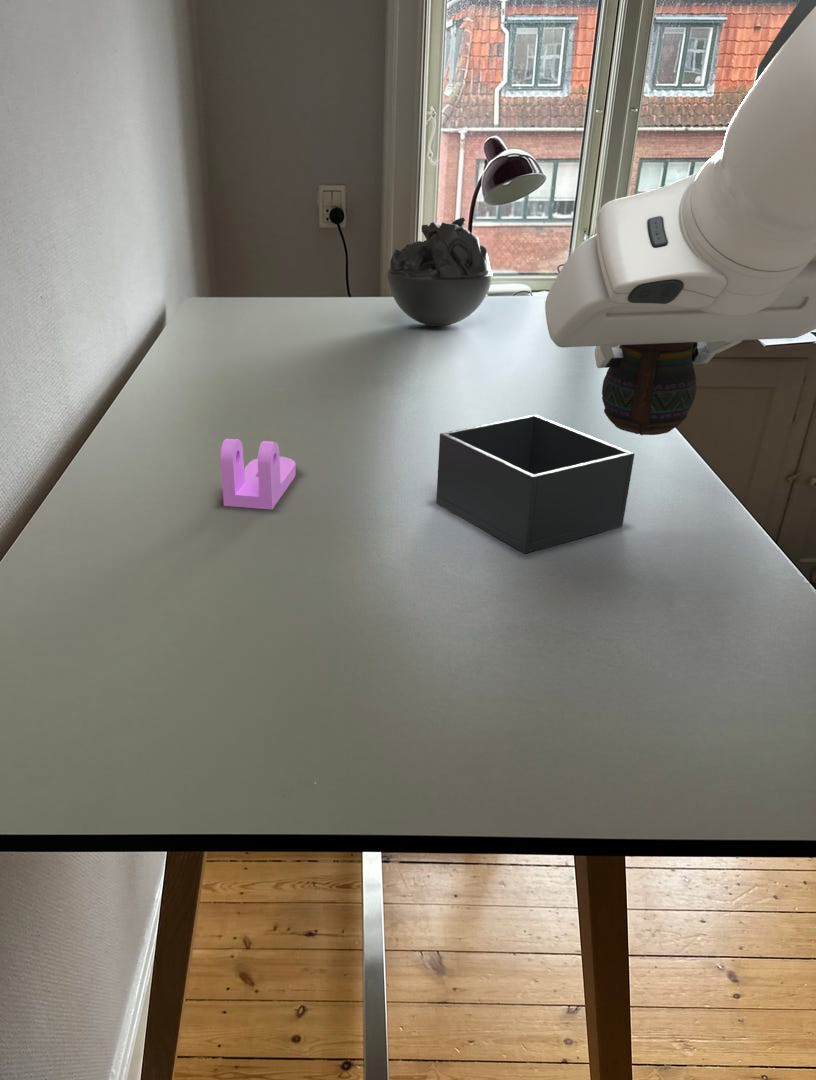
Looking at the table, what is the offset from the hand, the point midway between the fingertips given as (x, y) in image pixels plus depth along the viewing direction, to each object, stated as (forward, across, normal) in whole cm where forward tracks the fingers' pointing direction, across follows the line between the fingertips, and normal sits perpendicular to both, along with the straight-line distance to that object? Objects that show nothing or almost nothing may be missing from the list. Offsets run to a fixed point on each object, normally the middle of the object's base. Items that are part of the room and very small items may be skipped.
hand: (649, 358), depth 73 cm
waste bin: (+28, +2, +2) cm, 28 cm away
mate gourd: (+4, 0, +4) cm, 6 cm away
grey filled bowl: (+94, -8, -64) cm, 114 cm away
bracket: (+37, +30, -7) cm, 48 cm away
